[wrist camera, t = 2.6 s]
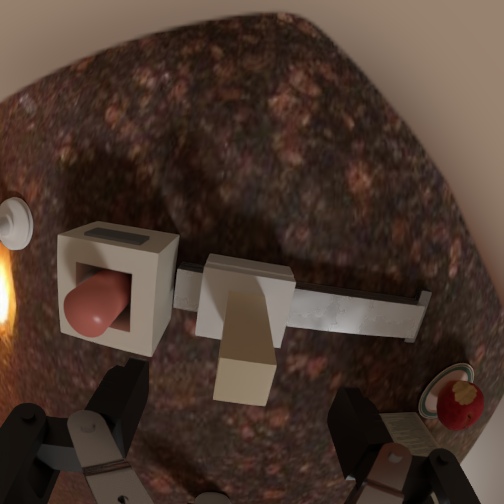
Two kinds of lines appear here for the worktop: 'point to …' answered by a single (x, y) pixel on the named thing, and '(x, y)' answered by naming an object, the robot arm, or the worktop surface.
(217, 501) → the beverage can
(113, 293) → the button
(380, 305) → the rail
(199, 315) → the carriage
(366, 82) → the worktop surface
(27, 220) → the chess piece
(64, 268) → the cream square box
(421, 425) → the skincare box
